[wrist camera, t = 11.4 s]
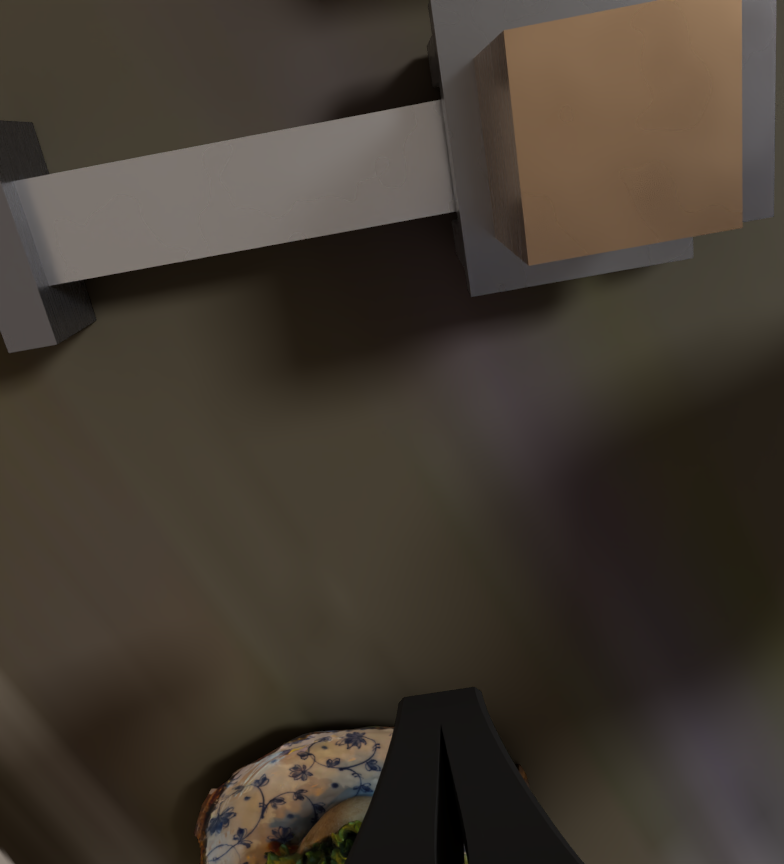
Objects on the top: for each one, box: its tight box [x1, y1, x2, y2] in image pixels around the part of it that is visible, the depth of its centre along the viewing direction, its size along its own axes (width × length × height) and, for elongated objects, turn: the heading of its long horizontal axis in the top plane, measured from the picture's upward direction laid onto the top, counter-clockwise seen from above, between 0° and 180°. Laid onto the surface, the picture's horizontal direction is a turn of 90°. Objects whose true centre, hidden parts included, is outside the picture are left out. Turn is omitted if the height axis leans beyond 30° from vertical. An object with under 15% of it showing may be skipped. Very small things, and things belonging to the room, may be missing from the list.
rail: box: [0, 0, 776, 353], centre depth 18 cm, size 18×5×3 cm, turn 100°
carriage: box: [427, 0, 743, 297], centre depth 15 cm, size 5×6×7 cm
